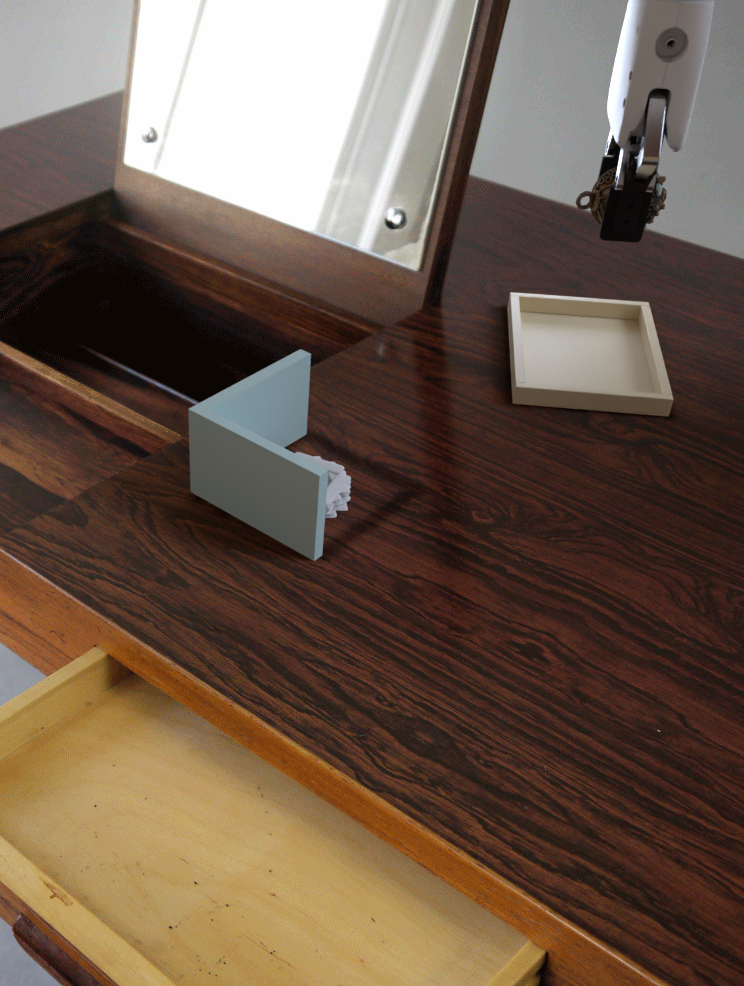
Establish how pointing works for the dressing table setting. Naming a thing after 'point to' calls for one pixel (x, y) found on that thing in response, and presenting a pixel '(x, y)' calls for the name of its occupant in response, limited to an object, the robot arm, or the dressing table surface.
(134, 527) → the dressing table surface
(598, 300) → the cream shallow tray
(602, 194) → the pendant
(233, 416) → the l-shaped corner panel
